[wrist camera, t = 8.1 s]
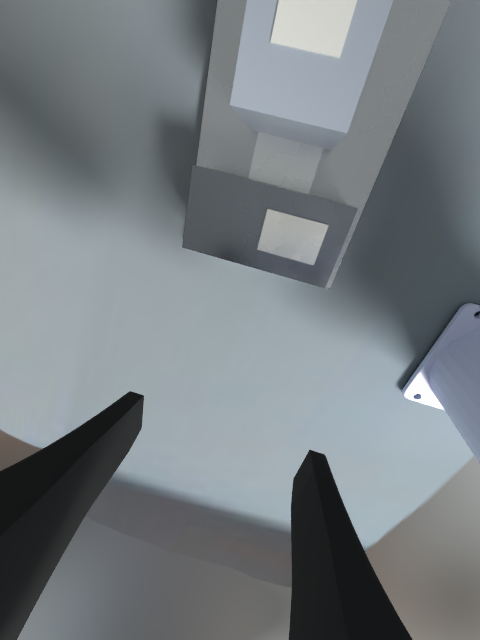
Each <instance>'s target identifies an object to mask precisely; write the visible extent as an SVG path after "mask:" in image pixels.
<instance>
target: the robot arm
mask: <svg viewBox="0 0 480 640" xmlns="http://www.w3.org/2000/svg"><path fill="white" fill-rule="evenodd" d="M478 311H480V305H477V304H473V303H467V304H464V305H462V306H461V307H460V308H459V310H458V311H457V313H456V314H455V316H454V317H453V318H452V320H451V321H450V323H449V324H448V325H447V327H446V328H445V330H444V331H443V333H442V334H441V335H440V337H439V338H438V340H437V341H436V343H435V344H434V345H433V347H432V348H431V350H430V351H429V352H428V354H427V355H426V357H425V358H424V360H423V361H422V362H421V364H420V365H419V367H418V368H417V370H416V371H415V372H414V374H413V375H412V377H411V378H410V379H409V381H408V382H407V384H406V385H405V387H404V388H403V390H402V394H403V396H404V397H405V398H407V399H409V400H413V401H416V402H419V403H423V404H426V405H429V406H432V407H436V408H439V409H442V410H445V411H446V413H447V415H448V416H449V418H450V419H451V421H452V422H453V424H454V425H455V427H456V428H457V430H458V431H459V433H460V434H461V436H462V437H463V439H464V440H465V442H466V443H467V445H468V446H469V448H470V449H471V451H472V452H473V454H474V456H475V457H476V459H477V460H478V461H479V463H480V314H479V315H477V316H474V314H475V313H476V312H478ZM415 394H418V395H416V396H414V395H415ZM143 401H144V396H143V395H140V394H137V393H134V392H131V391H130V392H128V393H127V394H125V395H124V396H123V397H121V398H120V399H119V400H117V401H116V402H114V403H113V404H112V405H110V406H109V407H107V408H106V409H105V410H103V411H102V412H100V413H99V414H97V415H96V416H95V417H93V418H92V419H90V420H89V421H87V422H86V423H84V424H83V425H81V426H80V427H78V428H76V429H75V430H73V431H72V432H70V433H68V434H67V435H65V436H64V437H62V438H60V439H59V440H57V441H55V442H54V443H52V444H50V445H49V446H47V447H45V448H43V449H42V450H40V451H38V452H36V453H35V454H33V455H31V456H29V457H27V458H25V459H23V460H22V461H20V462H18V463H16V464H14V465H12V466H10V467H8V468H6V469H4V470H2V471H0V640H17V638H18V636H19V634H20V633H21V631H22V628H23V627H24V625H25V623H26V621H27V619H28V617H29V615H30V613H31V612H32V610H33V608H34V606H35V604H36V602H37V600H38V599H39V597H40V595H41V593H42V591H43V589H44V587H45V586H46V583H47V582H48V580H49V578H50V576H51V575H52V573H53V571H54V569H55V567H56V566H57V564H58V562H59V560H60V558H61V557H62V555H63V553H64V551H65V550H66V548H67V546H68V544H69V542H70V541H71V539H72V537H73V536H74V534H75V532H76V531H77V529H78V527H79V525H80V524H81V522H82V520H83V518H84V517H85V515H86V514H87V512H88V511H89V509H90V507H91V506H92V504H93V503H94V501H95V500H96V499H97V497H98V496H99V494H100V493H101V491H102V490H103V488H104V487H105V485H106V484H107V483H108V481H109V480H110V478H111V477H112V475H113V474H114V472H115V471H116V470H117V468H118V467H119V465H120V464H121V462H122V461H123V459H124V458H125V456H126V455H127V453H128V452H129V450H130V448H131V447H132V445H133V443H134V441H135V439H136V437H137V436H138V434H139V432H140V430H141V428H142V415H143ZM291 540H292V599H291V615H290V631H289V640H412V638H411V636H410V635H409V633H408V631H407V630H406V628H405V626H404V625H403V623H402V621H401V620H400V618H399V616H398V614H397V613H396V611H395V609H394V607H393V605H392V603H391V602H390V600H389V598H388V596H387V594H386V593H385V591H384V589H383V587H382V585H381V583H380V581H379V579H378V577H377V576H376V574H375V572H374V570H373V568H372V566H371V564H370V562H369V560H368V558H367V555H366V553H365V551H364V549H363V547H362V545H361V543H360V541H359V538H358V536H357V534H356V532H355V529H354V527H353V525H352V523H351V520H350V518H349V516H348V513H347V511H346V508H345V506H344V504H343V501H342V499H341V496H340V494H339V491H338V488H337V486H336V483H335V481H334V478H333V475H332V473H331V470H330V467H329V464H328V461H327V459H326V456H325V455H324V454H321V453H318V452H315V451H312V450H309V452H308V454H307V456H306V458H305V459H304V461H303V463H302V465H301V466H300V468H299V470H298V472H297V474H296V475H295V477H294V480H293V490H292V502H291Z"/></svg>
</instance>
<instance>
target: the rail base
mask: <svg viewBox="0 0 480 640" xmlns="http://www.w3.org/2000/svg"><path fill="white" fill-rule="evenodd" d="M451 1H452V0H393V3H392V6H391V9H390V12H389V14H388V17H387V20H386V23H385V26H384V29H383V32H382V35H381V38H380V40H379V43H378V46H377V49H376V52H375V55H374V58H373V61H372V63H371V66H370V69H369V72H368V75H367V78H366V81H365V84H364V86H363V89H362V92H361V95H360V98H359V101H358V104H357V107H356V109H355V112H354V115H353V118H352V121H351V124H350V127H349V130H348V132H347V134H346V135H345V136H344V137H343V138H342V140H341V141H340V142H339V143H338V144H337V145H336V146H335V147H334V148H333V149H332V150H330V149H326V148H321V147H317V146H313V145H309V144H305V143H301V142H297V141H293V140H289V139H285V138H281V137H277V136H273V135H269V134H265V133H261V132H257V131H253V130H250V129H249V128H248V126H247V125H246V124H245V123H244V122H243V120H242V119H241V118H240V117H239V115H238V114H237V113H236V112H235V111H234V109H233V108H232V107H231V106H230V101H231V95H232V89H233V83H234V76H235V70H236V64H237V58H238V52H239V46H240V40H241V34H242V28H243V22H244V15H245V9H246V3H247V0H218V1H217V9H216V17H215V24H214V32H213V40H212V48H211V55H210V63H209V71H208V79H207V86H206V94H205V102H204V110H203V117H202V125H201V133H200V140H199V148H198V156H197V164H196V165H192V172H191V180H190V188H189V196H188V204H187V213H186V221H185V229H184V237H183V245H182V247H183V248H186V249H190V250H193V251H197V252H200V253H204V254H207V255H211V256H214V257H218V258H221V259H225V260H228V261H232V262H235V263H239V264H242V265H246V266H249V267H253V268H256V269H260V270H263V271H267V272H270V273H274V274H277V275H281V276H284V277H288V278H291V279H295V280H298V281H302V282H305V283H309V284H312V285H316V286H319V287H323V288H328V289H330V287H331V285H332V283H333V280H334V278H335V275H336V273H337V271H338V268H339V266H340V264H341V261H342V259H343V257H344V254H345V252H346V249H347V247H348V245H349V242H350V240H351V238H352V235H353V233H354V230H355V228H356V226H357V223H358V221H359V219H360V216H361V214H362V212H363V209H364V207H365V204H366V202H367V200H368V197H369V195H370V193H371V190H372V188H373V185H374V183H375V181H376V178H377V176H378V174H379V171H380V169H381V167H382V164H383V162H384V159H385V157H386V155H387V152H388V150H389V148H390V145H391V143H392V140H393V138H394V136H395V133H396V131H397V129H398V126H399V124H400V122H401V119H402V117H403V114H404V112H405V110H406V107H407V105H408V103H409V100H410V98H411V95H412V93H413V91H414V88H415V86H416V84H417V81H418V79H419V77H420V74H421V72H422V69H423V67H424V65H425V62H426V60H427V58H428V55H429V53H430V50H431V48H432V46H433V43H434V41H435V39H436V36H437V34H438V32H439V29H440V27H441V24H442V22H443V20H444V17H445V15H446V13H447V10H448V8H449V6H450V3H451Z"/></svg>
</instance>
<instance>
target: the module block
mask: <svg viewBox="0 0 480 640" xmlns="http://www.w3.org/2000/svg"><path fill="white" fill-rule="evenodd" d="M392 3H393V0H247V3H246V9H245V15H244V22H243V28H242V34H241V40H240V46H239V52H238V58H237V64H236V70H235V76H234V83H233V89H232V95H231V101H230V106H231V107H232V108H233V109H234V111H235V112H236V113H237V114H238V115H239V117H240V118H241V119H242V120H243V122H244V123H245V124H246V125H247V126H248V128H249V129H250V130H253V131H257V132H261V133H265V134H269V135H273V136H277V137H281V138H285V139H289V140H293V141H297V142H301V143H305V144H309V145H313V146H317V147H321V148H326V149H330V150H332V149H333V148H334V147H335V146H336V145H337V144H338V143H339V142H340V141H341V140H342V138H343V137H344V136H345V135H346V134H347V132H348V130H349V127H350V124H351V121H352V118H353V115H354V112H355V109H356V107H357V104H358V101H359V98H360V95H361V92H362V89H363V86H364V84H365V81H366V78H367V75H368V72H369V69H370V66H371V63H372V61H373V58H374V55H375V52H376V49H377V46H378V43H379V40H380V38H381V35H382V32H383V29H384V26H385V23H386V20H387V17H388V14H389V12H390V9H391V6H392Z"/></svg>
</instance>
